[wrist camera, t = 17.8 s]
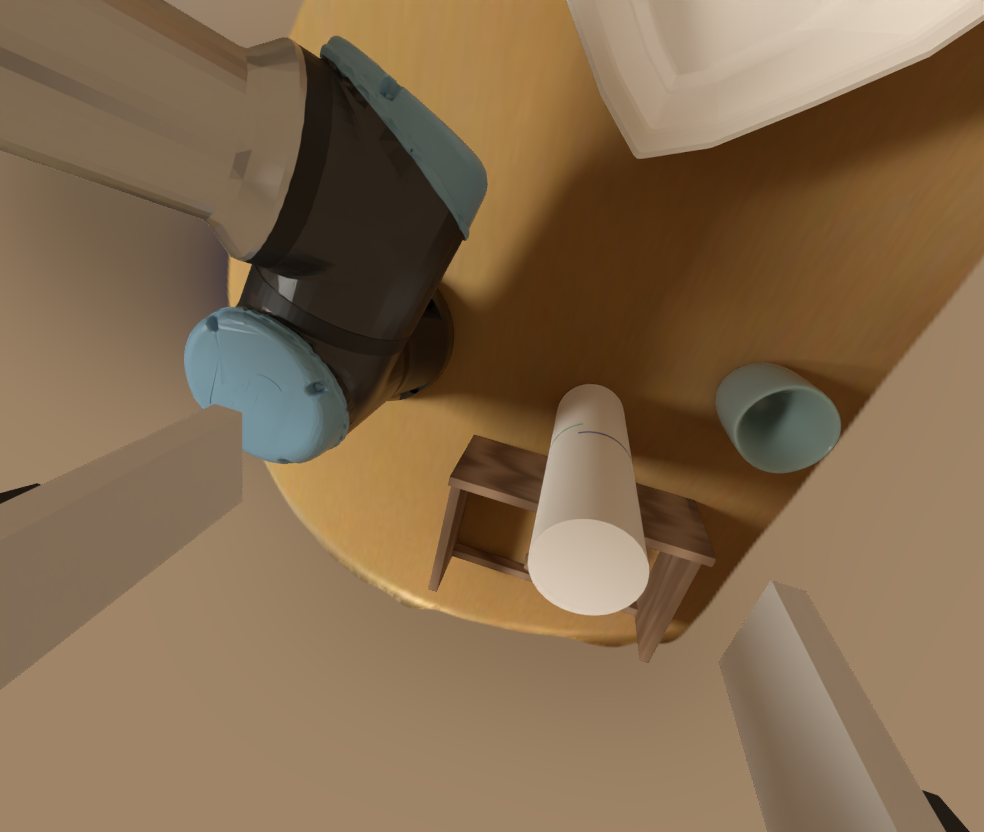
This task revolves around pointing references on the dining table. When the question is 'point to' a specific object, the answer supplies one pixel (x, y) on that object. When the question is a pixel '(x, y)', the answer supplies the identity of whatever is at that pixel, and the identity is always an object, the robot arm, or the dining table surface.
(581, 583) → the cylindrical container
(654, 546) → the rack
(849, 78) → the bowl
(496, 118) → the dining table surface
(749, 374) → the cup
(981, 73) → the dining table surface
